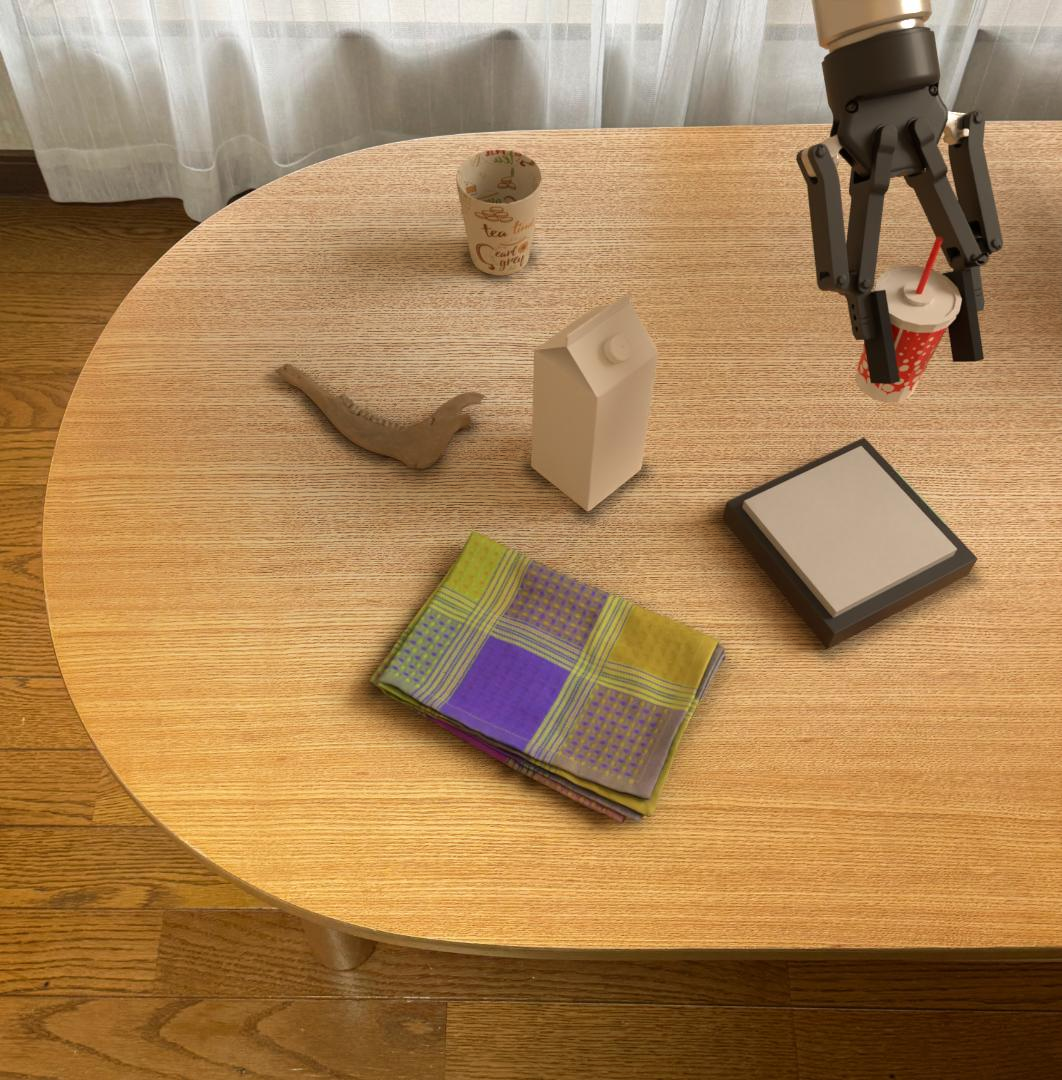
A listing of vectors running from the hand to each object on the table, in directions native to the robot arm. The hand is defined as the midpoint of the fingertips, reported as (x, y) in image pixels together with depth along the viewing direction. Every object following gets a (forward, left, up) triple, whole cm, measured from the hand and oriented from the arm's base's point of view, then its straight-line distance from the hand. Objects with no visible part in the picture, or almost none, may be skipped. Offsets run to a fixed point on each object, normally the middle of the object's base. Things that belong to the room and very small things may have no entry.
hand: (927, 370), depth 85 cm
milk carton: (+24, -7, -21) cm, 32 cm away
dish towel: (+27, +14, -21) cm, 37 cm away
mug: (+32, -37, -21) cm, 53 cm away
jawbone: (+43, -15, -21) cm, 49 cm away
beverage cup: (+1, -3, -5) cm, 6 cm away
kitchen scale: (+2, +1, -20) cm, 21 cm away
